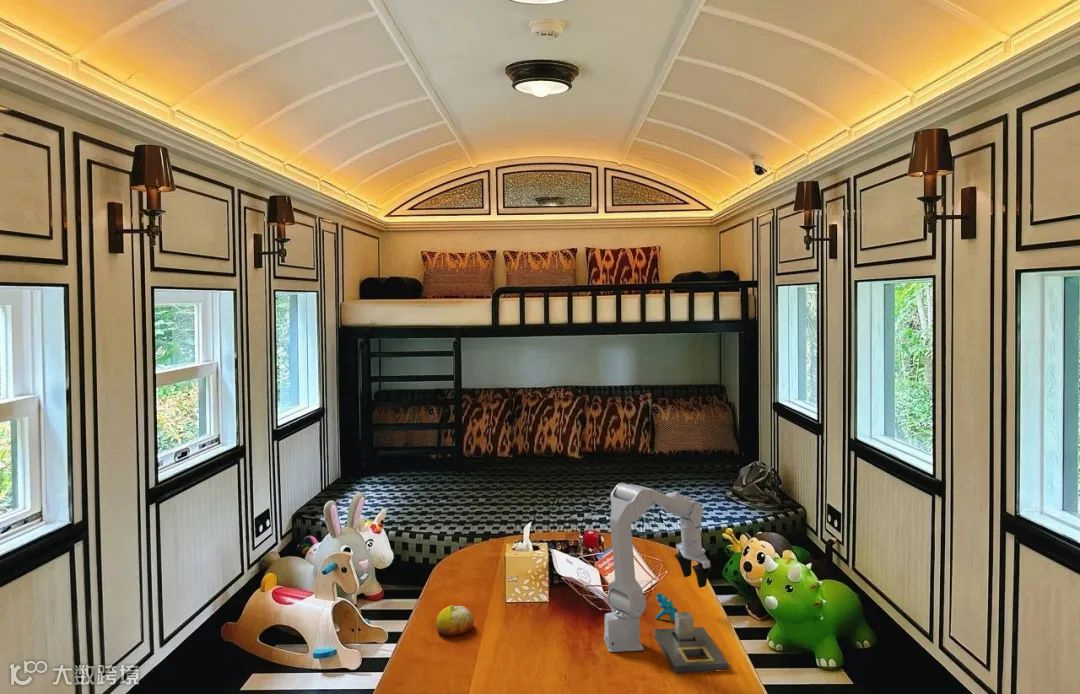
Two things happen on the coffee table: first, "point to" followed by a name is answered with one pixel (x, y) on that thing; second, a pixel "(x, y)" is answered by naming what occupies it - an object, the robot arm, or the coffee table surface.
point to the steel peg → (683, 627)
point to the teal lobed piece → (665, 606)
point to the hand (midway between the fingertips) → (694, 581)
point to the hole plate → (690, 651)
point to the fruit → (454, 621)
